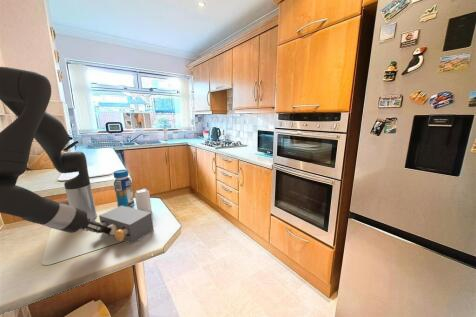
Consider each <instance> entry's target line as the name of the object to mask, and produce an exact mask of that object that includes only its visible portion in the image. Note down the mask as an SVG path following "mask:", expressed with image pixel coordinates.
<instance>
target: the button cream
mask: <svg viewBox="0 0 476 317" xmlns="http://www.w3.org/2000/svg"><path fill="white" fill-rule="evenodd" d="M108 228H111V229H112V230H111V231H110V234H111V235H113V234H114V232H115V231H117V230H118V227H117V225H116V224H111V225H109V226H108ZM111 235H110V236H111Z"/></svg>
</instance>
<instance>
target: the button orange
mask: <svg viewBox="0 0 476 317" xmlns="http://www.w3.org/2000/svg"><path fill="white" fill-rule="evenodd" d="M127 234H129V230H128V228H125V229H123V230H121V229H119V230H117V231H115V232H114V236H115V237H114V238H115V240H116V241H117V242H121V241H124V240H123V239H124V238H125V235H127Z"/></svg>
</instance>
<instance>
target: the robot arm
mask: <svg viewBox="0 0 476 317" xmlns="http://www.w3.org/2000/svg"><path fill="white" fill-rule="evenodd" d="M51 97H52V84H51V82H50V80H49V79H48V77H47V76H46V75H45V74H42V73H41V72H35V71H32V70H26V69H21V68H16V67H5V66H0V101H1V102H2V103H3V104H4V105H5V106H6V107H7V108H8V109H9V110H10V111H11V112H12V113H13V114H14V115H15V116H16V117H17V118H15V120H13V121H12V122H11V123H10V124H8V126H5V128H4V129H2V130H1V131H0V214H4V215H9V216H12V217H13V216H14V217H17V218H21V220H23V221H27V222H30V223H33V224H38V225H42V226H45V227H46V228H49V229H54V230H58V231H61V232H65V233H70V234H72V233H76V232H78V231H79V230H82V231H84V232H92V233H96V232H99V233H98V234H106V235H108V234H109V233H110V231H111V230H112V229H111V228H108V227H106V226H104V225H101V224H100V223H99V222H100V221H99V222H98V221H95V219H96V218H97V216H98V215H97V210H96V206H95V200H94V195H93V190H92V186H91V182H90V176H89V170H88V163H87V157H86V155H85V153H84V152H83V151H72V152H62V151H63V149H65V147H66V146H67V144H68V142H69V137H70V136H69V133H68V131H67V129H66V128H65V126H64V124H63V123H62V122H61V121H60V120H59V119H58V118H57V117H55V116H53V114H50V113H49V112H48V111H47V108H48V106H49V103H50V100H51ZM34 140H35V141H36V142H37V143H38V144H39V145H40V147H41V148H42V149H43V151H44V152H45V154H46V155H47V156H48V158H49V160H50V161H51V163H52V165H53V166H54V168H55V170H56V171H57V172H58V173H60V174H72V173H78V175H76V176H75V177H72V178H70V179H67V180H66V181H65V182H64V184H63V185H64V189H65V190H64V191H65V195H66V197H67V198H68V202H69V205H67V204H63V203H59V202H58V201H56V200H52V199H49V198H46V197H43V196H41V195H39V194H37V193H35V192H34V191H32V190H30V189H27V188H25V187H23V186H19V185H17V182H18V180H19V177H20V176H22V175H23V174H24V173H25V172H26V171H27V168H28V164H29V158H30V155H31V150H32V145H33V142H34Z"/></svg>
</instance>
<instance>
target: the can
mask: <svg viewBox="0 0 476 317" xmlns="http://www.w3.org/2000/svg"><path fill="white" fill-rule="evenodd" d="M134 198H135V203H136V205H135V206H136V209H138V210H142V211H146V212H150V213H152V203H151V195H150V191H149V189H148V188H143V187H142V188H139V189H137V190H135V194H134Z"/></svg>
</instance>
